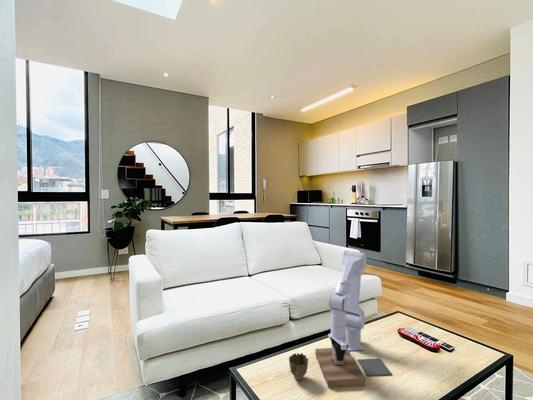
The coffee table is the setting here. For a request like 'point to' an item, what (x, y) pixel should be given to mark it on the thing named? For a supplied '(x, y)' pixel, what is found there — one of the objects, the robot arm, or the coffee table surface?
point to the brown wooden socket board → (339, 370)
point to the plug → (334, 358)
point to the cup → (298, 365)
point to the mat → (374, 367)
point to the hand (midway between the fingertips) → (338, 356)
